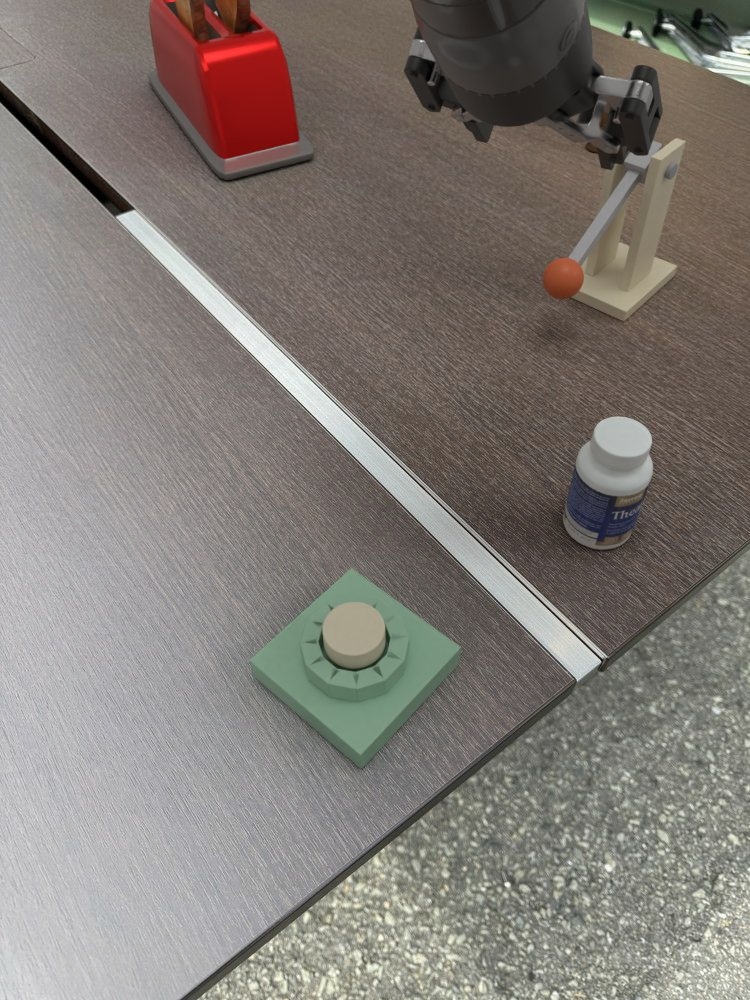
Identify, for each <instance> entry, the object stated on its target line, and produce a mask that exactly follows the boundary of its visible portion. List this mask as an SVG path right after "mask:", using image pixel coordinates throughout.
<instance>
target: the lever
mask: <svg viewBox="0 0 750 1000" xmlns="http://www.w3.org/2000/svg"><path fill="white" fill-rule="evenodd" d="M663 147H664V146H663V143H661V142H658V141H655V140H653V142H652V145H651V148H650V150H649V153H648V155H646V156H637V155H634V154H633V153H631V152H630V153H629V155H628V156H627V157H626V159H625V161H624V167H625V176H624V177H623V179H622V180H621V182H620V183H619V184H618V186H617V187H616V189H615V190H614V192H613V193H612V195H611V196H610V198H609V199H608V200H607V202H606V203H605V205H604V206H603V208H602V209H601V211H600V212H599V214H598V215H597V214H596V215H597V216H596V215H595V218H594V219H593V221H592V222H591V223H590V225H589V226H588V228H587V229H586V230H585V232H584V234H583V235H582V237H581V238H580V239H579V241H578V242H577V244H576V246H575V247H574V248H573V250H572V251H571V253H570V254H569V256H568V257H559V258H556V259H554V260H552V261H551V262H549V264H547V266H546V268H545V269H544V271H543V275H542V284H543V288H544V290H545V291H546V293H547V294H548V295H550V297H552V298H555V299H559V300H566V299H570V298H571V297H572V296H574V295H575V294H577V292H578V291H579V290H580V289H581V287H582V285H583V281H584V273H583V270H582V268H581V265H582V264H583V262H584V261H585V260H586V258H587V257H588V255H589V254H590V252H591V251H592V249H593V248H594V246H595V245H596V243H597V242H598V241H599V239H600V238H601V236H602V235H603V233H604V232H605V230H606V229H607V227H608V226H609V225H610V223H611V222H612V220H613V219H614V217H615V216H616V214H617V213H618V211H619V210H620V208H621V207H622V206H623V204H624V203H625V201H626V200H627V198H628V197H629V195H630V196H631V194H632V193H633V191H634V190H635V189H636V187H637V186H638V184H642V185H644V184H645V180H646V176H647V172H648V167H649V163H650V159H651V156H653V155H654V154H655V153H657V152H658V151H659V150H661V149H662V148H663ZM629 198H630V197H629Z"/></svg>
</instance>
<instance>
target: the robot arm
mask: <svg viewBox="0 0 750 1000" xmlns="http://www.w3.org/2000/svg"><path fill="white" fill-rule="evenodd" d="M587 1H588V0H409V2H410V5H411V8H412V12H413V16H414V19H415V22H416V25H417V27H416V30H415V33H414V36H413V40H412V42H411V44H410V49H409V52H408V55H407V59H406V61H405V65H404V69H403V73H404V74H405V76H406V78H407V80H408V82H409V84H410V86H411V87H412V89H413V91H414V93H415V95H416V97H417V98H418V100H419V103H420V104H421V106H422V108H424V109H426V110H427V111H428V112H430V113H440V112H441V111H442V107H444V108H446V109H449V110H451V114H450V116H451V117H452V118H453V119H455V120H456V121H458V122H461V123H463V125H464V127H465V129H466V130H467V131H469V132H470V133H472V136H473V137H474V139H475V140H476V142H480V143H485V144H487V143H488V142H489V141H490V138H491V135H492V133H493V129H494V126H496V127H501V128H502V127H505V128H514V127H520V126H527V125H531V124H533V123H534V124H535V125H537V126H539V127H549V129H551V130H553V131H555V132H556V133H558V134H559V135H561V136H563V137H564V138H566V139H568V140H569V141H570V142H572V143H574V144H577V143H578V144H579V143H588V142H590V143H591V144H593V145H594V146H596V147H597V152H598V153H597V155H598V156H597V157H598V161H599V166H600V168H601V169H603V170H606V169H608V170H613V168H614V165H615V164H620V165H622V164H623V163H624V161H625V158H626V155H627V152H628V151H629V152H631V153H633V154H634V155H637V156H646V155H648V153H649V150H650V148H651V145H652V142H653V141H654V139H655V136H656V133H657V130H658V128H659V125H660V121H661V119H662V116H663V113H664V109H663V101H662V95H661V90H660V83H659V75H658V71H657V70H656V69H655V68H654V67H651V66H649V65H646V64H638V65H635V66H634V67H633V70H632V73H631V74H630V75H628V76H627V77H626V78H622V77H615V76H611V75H610V76H608V75H605V70H604V68H603V66H602V65H601V64H599V62H597V61H596V60H595V58H593V32H592V25H591V19H590V14H589V8H588V2H587ZM604 112H606V113H607V114H609V115H608V118H607V121H606V124H605V127H604V130H602V129H601V128H600V122H601V119H602V116H603V113H604ZM575 116H577V117H576V121H575V120H573V119H572V117H575Z"/></svg>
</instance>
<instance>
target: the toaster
mask: <svg viewBox="0 0 750 1000" xmlns="http://www.w3.org/2000/svg"><path fill="white" fill-rule="evenodd" d="M148 18H149V29H150V37H151V42H152V51H153V56H154V62H155V68H156V69H155V70H153V71H150V72H149V73H148V75H147V79H148V81H149V84H150V86H151V89H152V90H153V91H154V92H155V94H156V96H157V97H158V98H159V100H160V101H161V102H162V104H163V105H164V106H165V108H166V109H167V111H168V112H169V114H170V115H171V117H173V119H174V121H176V123H177V125H178V126H179V127H180V128H181V130H182V131H183V132H184V133H185V135H186V136H187V138H188V139H189V140H190V142H191V144H192V145H193V146H194V148H195V149H196V150H197V151H198V153H199V154H200V156H201V157H202V158H203V160H204V161H205V163H206V164H207V166H208V167H209V168H210V169H211V170H212V171H213V172H214V173H215V175H217V176H218V177H219V178H220V179H222V180H225V181H232V180H236V179H239V178H244V177H248V176H251V175H255V174H260V173H263V172H267V171H272V170H275V169H279V168H284V167H287V166H291V165H295V164H300V163H302V162H306V161H310V160H313V158H314V155H315V148H314V146H313V144H312V143H311V141H310V140H309V138H307V136H306V135H305V134H304V133H303V132H302V131H301V130H300V128H299V123H298V122H299V121H298V116H297V110H296V102H295V97H294V91H293V90H294V89H293V85H292V79H291V75H290V69H289V65H288V60H287V58H286V53H285V52H284V49H283V46H282V44H281V41H280V38H279V36H278V35H277V33H276V32H275V31H274V30H273V29H272V28H271V27H270V26H269V25H268V24H267V23H266V22H265V21H264V20H263V19H261V17H260V16H258V15H257V13H255V12H254V11H253V10H252V9H251V0H149V8H148Z"/></svg>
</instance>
